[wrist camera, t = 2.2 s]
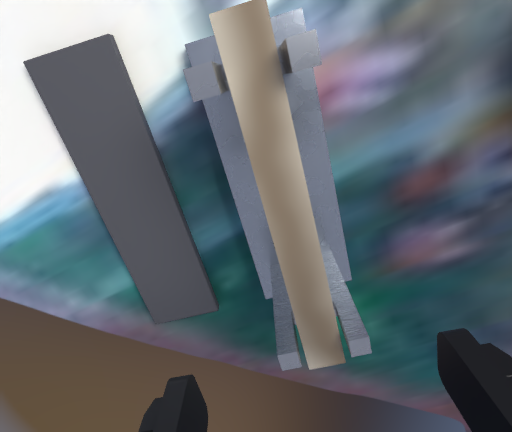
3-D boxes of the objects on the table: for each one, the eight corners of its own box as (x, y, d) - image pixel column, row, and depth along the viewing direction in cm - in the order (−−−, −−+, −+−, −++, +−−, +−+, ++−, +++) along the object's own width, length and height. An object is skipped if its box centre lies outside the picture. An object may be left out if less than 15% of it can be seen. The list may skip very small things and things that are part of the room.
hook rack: (299, 11, 27) (339, -50, 14) (348, 272, 37) (397, 374, 25) (188, 46, 28) (131, 19, 15) (265, 291, 38) (270, 398, 26)
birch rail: (263, 8, 19) (265, -4, 16) (336, 335, 29) (345, 362, 26) (215, 23, 19) (208, 14, 16) (304, 342, 29) (309, 369, 26)
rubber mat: (112, 35, 28) (108, 33, 27) (219, 305, 39) (218, 310, 38) (30, 62, 29) (23, 61, 28) (158, 318, 40) (155, 324, 39)
